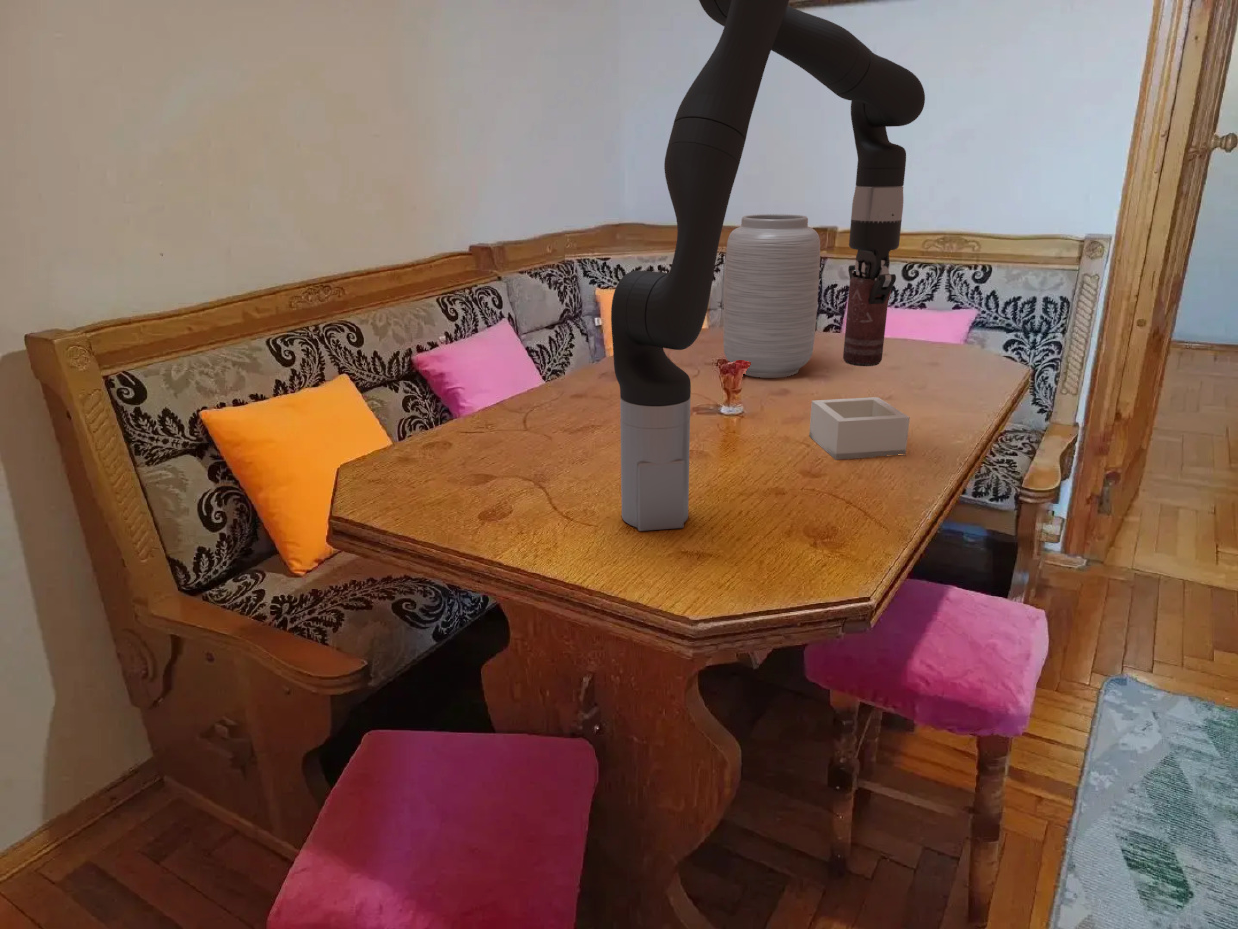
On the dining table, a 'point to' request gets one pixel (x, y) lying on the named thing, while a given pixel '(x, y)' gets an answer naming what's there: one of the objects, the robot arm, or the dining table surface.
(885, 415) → the well
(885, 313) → the can
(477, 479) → the dining table surface
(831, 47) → the robot arm
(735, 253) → the vase
